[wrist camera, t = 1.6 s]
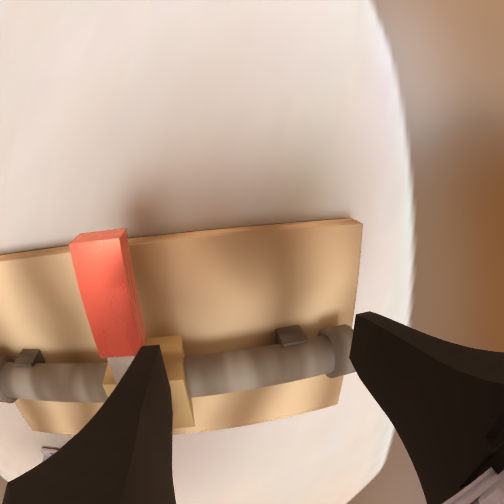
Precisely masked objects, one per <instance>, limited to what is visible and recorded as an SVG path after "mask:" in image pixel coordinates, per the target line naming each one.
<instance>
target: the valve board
mask: <svg viewBox="0 0 504 504" xmlns="http://www.w3.org/2000/svg"><path fill="white" fill-rule="evenodd" d="M362 226H363V224H362V223H360V222H358V221H356V220H353V219H351V218H349V219H335V220H321V221H308V222H295V223H282V224H270V225H259V226H247V227H236V228H226V229H215V230H205V231H195V232H185V233H175V234H165V235H156V236H147V237H138V238H129V239H128V244H129V251H130V257H131V262H132V268H133V274H134V279H135V284H136V289H137V294H138V299H139V304H140V308H141V313H142V317H143V322H144V326H145V330H146V334H147V341H146V346H148V345H160V349H161V353H162V357H163V361H164V365H165V369H166V373H167V376H168V380H169V384H170V388H171V397H172V409H173V431H172V434H183V433H193V432H203V431H211V430H219V429H226V428H233V427H239V426H245V425H251V424H256V423H262V422H267V421H272V420H277V419H281V418H286V417H290V416H295V415H299V414H303V413H307V412H311V411H315V410H318V409H322V408H326V407H329V406H333V405H336V404H338V400H339V395H340V390H341V385H342V380H343V375H346V374H349V373H353V372H355V371H356V370H355V369H354V367H353V365H352V363H351V361H350V359H349V355H350V349H351V343H352V337H353V329H352V322H353V315H354V308H355V300H356V292H357V283H358V274H359V264H360V253H361V241H362ZM116 386H117V384H116V382H115V379H114V376H113V374H112V371H111V368H110V366H109V363H108V360H107V358H100V355H99V352H98V349H97V346H96V344H95V341H94V338H93V335H92V332H91V328H90V325H89V322H88V319H87V315H86V312H85V309H84V305H83V302H82V298H81V294H80V291H79V287H78V283H77V279H76V275H75V271H74V266H73V262H72V257H71V252H70V248H69V246H64V247H56V248H48V249H41V250H34V251H27V252H20V253H13V254H6V255H0V402H6V403H15V404H16V406H17V407H18V409H19V411H20V412H21V414H22V415H23V417H24V418H25V420H26V421H27V423H28V424H29V425H30V427H31V428H32V430H33V431H41V432H49V433H59V434H71V435H76V434H77V433H78V432H79V431H80V430H81V429H82V428H83V427H84V426H85V425H86V424H87V423H88V422H89V421H90V420H91V418H92V417H93V416H94V415H95V414H96V413H97V411H98V410H99V409H100V408H101V406H102V405H103V404H104V402H105V401H106V400H107V398H108V397H109V396H110V394H111V393H112V392H113V390H114V389H115V387H116Z"/></svg>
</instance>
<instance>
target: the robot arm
mask: <svg viewBox="0 0 504 504" xmlns="http://www.w3.org/2000/svg"><path fill="white" fill-rule="evenodd" d="M349 359H350V361H351V363H352V365H353V367H354V369H355V370H356V372H357V374H358V376H359V378H360V379H361V381H362V382H363V384H364V385H365V386H366V388H367V389H368V390H369V392H370V393H371V395H372V396H373V397H374V399H375V400H376V401H377V403H378V404H379V405H380V407H381V408H382V409H383V411H384V412H385V413H386V415H387V416H388V418H389V419H390V421H391V422H392V424H393V425H394V427H395V429H396V431H397V432H398V434H399V436H400V438H401V440H402V442H403V444H404V446H405V448H406V450H407V452H408V454H409V456H410V458H411V460H412V462H413V465H414V467H415V470H416V472H417V475H418V477H419V480H420V483H421V486H422V489H423V492H424V495H425V497H426V501H427V504H504V353H503V352H493V351H486V350H480V349H474V348H469V347H465V346H461V345H458V344H454V343H450V342H447V341H444V340H441V339H438V338H436V337H432V336H430V335H427V334H425V333H422V332H420V331H417V330H415V329H412V328H410V327H408V326H405V325H403V324H401V323H398V322H396V321H394V320H391V319H389V318H386V317H384V316H381V315H379V314H376V313H373V312H370V311H369V312H365V313H360V314H356V318H355V325H354V331H353V337H352V343H351V349H350V355H349ZM172 429H173V409H172V397H171V388H170V384H169V380H168V376H167V373H166V369H165V365H164V361H163V357H162V353H161V349H160V345H148V346H141V348H140V349H139V350H138V352H137V354H136V356H135V357H134V359H133V361H132V362H131V364H130V366H129V367H128V369H127V370H126V372H125V374H124V375H123V377H122V378H121V380H120V381H119V383H118V384H117V386H116V387H115V389H114V390H113V392H112V393H111V394H110V396H109V397H108V398H107V400H106V401H105V402H104V404H103V405H102V406H101V408H100V409H99V410H98V411H97V413H96V414H95V415H94V416H93V417H92V418H91V420H90V421H89V422H88V423H87V424H86V425H85V426H84V427H83V428H82V429H81V430H80V431H79V432H78V433H77V434H76V435H75V436H74V437H73V438H72V439H71V440H69V441H68V442H67V443H66V444H65V445H64V446H63V447H62V448H61V449H59V450H55V449H47V448H42V449H41V452H42V453H43V455H44V458H43V462H42V463H41V464H39V465H38V466H36V467H35V468H33V469H31V470H30V471H28V472H26V473H24V474H23V475H21V476H19V477H17V478H16V479H14V480H12V481H10V482H8V484H7V487H6V491H5V495H4V499H3V503H2V504H176V500H175V493H174V486H173V478H172Z"/></svg>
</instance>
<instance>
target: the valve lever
mask: <svg viewBox="0 0 504 504" xmlns="http://www.w3.org/2000/svg"><path fill="white" fill-rule="evenodd" d="M69 248H70V252H71V257H72V262H73V266H74V271H75V275H76V279H77V283H78V287H79V291H80V294H81V298H82V302H83V305H84V309H85V312H86V315H87V319H88V322H89V325H90V328H91V332H92V335H93V338H94V341H95V344H96V346H97V349H98V352H99V355H100V358H107V360H108V363H109V366H110V368H111V371H112V374H113V376H114V379H115V382H116V384H118V383H119V381H120V380H121V378H122V377H123V375H124V374H125V372H126V370H127V369H128V367H129V366H130V364H131V362H132V361H133V359H134V357H135V356H136V354H137V352H138V350H139V349H140V348H141V346H146V341H147V334H146V330H145V326H144V322H143V317H142V313H141V308H140V304H139V299H138V294H137V289H136V284H135V279H134V274H133V268H132V262H131V257H130V251H129V244H128V238H127V231H126V228H123V229H115V230H107V231H99V232H91V233H83V234H80V235H78V236H77V237H76V238H75V239H74V240H73V241H72V242H71V243H70V244H69ZM172 431H173V429H172Z"/></svg>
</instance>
